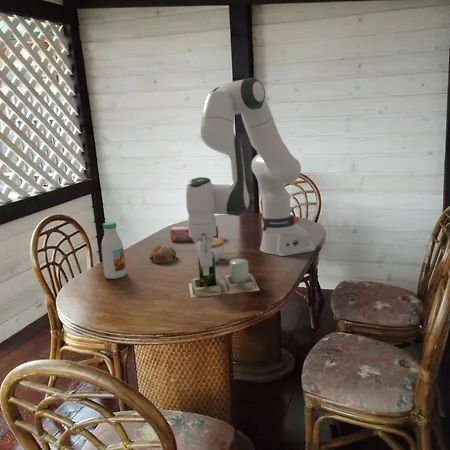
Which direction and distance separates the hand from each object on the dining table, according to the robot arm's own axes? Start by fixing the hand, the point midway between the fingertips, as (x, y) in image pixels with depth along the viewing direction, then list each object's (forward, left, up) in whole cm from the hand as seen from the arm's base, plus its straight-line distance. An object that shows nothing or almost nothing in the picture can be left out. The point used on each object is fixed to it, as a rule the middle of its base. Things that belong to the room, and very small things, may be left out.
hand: (205, 271), depth 153 cm
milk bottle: (+31, -24, -7) cm, 40 cm away
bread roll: (+14, -37, -8) cm, 40 cm away
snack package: (0, -61, -8) cm, 61 cm away
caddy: (-6, 0, -7) cm, 9 cm away
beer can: (-1, 0, -6) cm, 6 cm away
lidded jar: (-5, -31, -7) cm, 32 cm away
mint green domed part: (-11, 0, -6) cm, 13 cm away
